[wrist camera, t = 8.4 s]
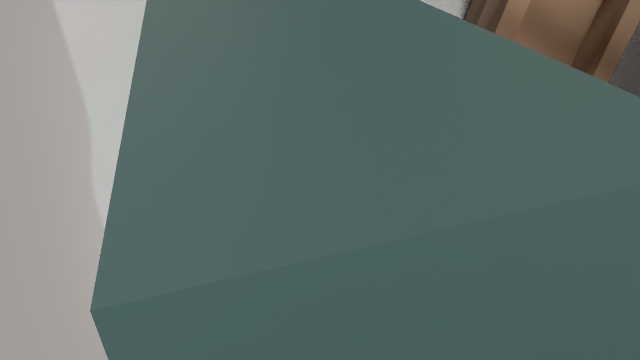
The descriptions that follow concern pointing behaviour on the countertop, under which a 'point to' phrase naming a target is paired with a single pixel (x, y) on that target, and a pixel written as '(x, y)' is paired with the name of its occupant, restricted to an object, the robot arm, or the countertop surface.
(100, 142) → the countertop surface
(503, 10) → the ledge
